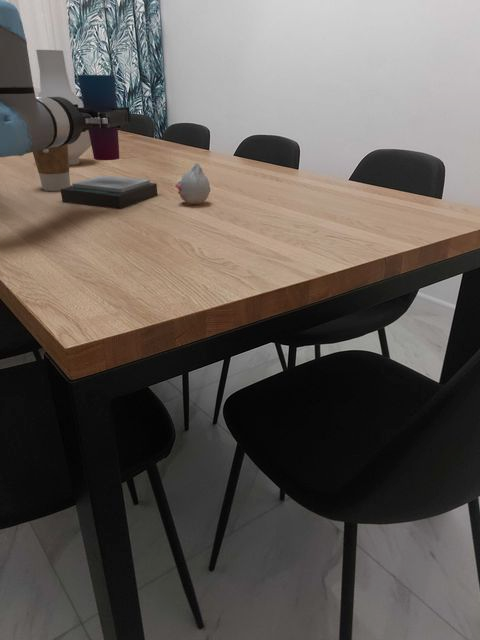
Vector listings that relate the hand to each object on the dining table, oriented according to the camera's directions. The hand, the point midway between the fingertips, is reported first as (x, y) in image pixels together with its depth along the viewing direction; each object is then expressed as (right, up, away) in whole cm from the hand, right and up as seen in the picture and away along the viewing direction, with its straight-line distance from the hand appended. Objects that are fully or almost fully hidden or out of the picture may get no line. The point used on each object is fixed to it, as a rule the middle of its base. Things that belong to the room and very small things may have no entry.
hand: (113, 113), depth 103 cm
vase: (-25, +5, +41) cm, 49 cm away
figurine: (+17, -19, 0) cm, 25 cm away
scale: (-1, -16, +3) cm, 17 cm away
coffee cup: (-16, -12, +11) cm, 23 cm away
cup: (-1, -10, -1) cm, 10 cm away
